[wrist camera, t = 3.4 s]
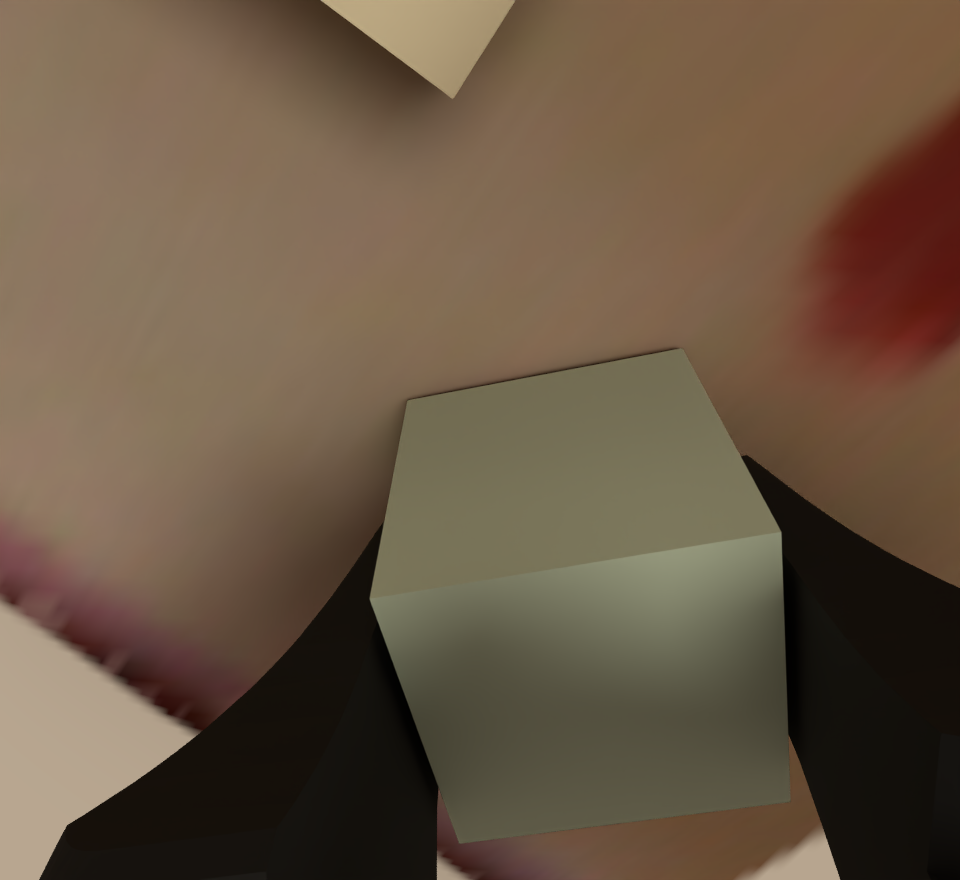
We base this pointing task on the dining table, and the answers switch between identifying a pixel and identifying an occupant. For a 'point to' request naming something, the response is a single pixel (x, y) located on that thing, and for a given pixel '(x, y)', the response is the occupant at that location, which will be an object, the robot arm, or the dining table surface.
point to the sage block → (585, 602)
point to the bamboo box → (429, 33)
